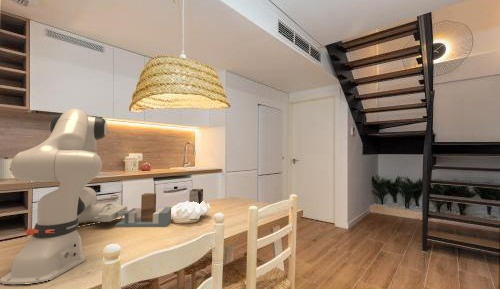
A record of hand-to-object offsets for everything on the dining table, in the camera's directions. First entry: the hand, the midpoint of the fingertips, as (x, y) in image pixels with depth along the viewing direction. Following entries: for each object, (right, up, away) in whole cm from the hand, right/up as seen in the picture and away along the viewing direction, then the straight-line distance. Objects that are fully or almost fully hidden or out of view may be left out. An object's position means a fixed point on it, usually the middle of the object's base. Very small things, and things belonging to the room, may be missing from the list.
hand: (128, 213), depth 132 cm
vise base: (+9, -6, +1) cm, 10 cm away
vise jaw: (+2, -4, 0) cm, 5 cm away
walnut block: (+10, -4, +1) cm, 11 cm away
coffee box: (+33, -6, +13) cm, 36 cm away
